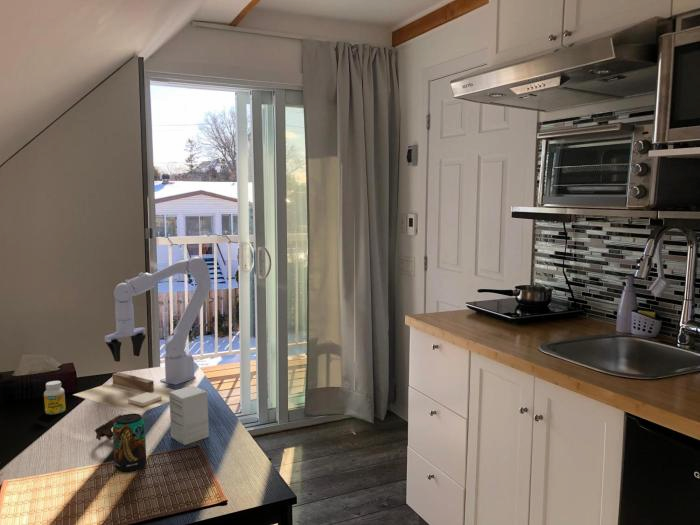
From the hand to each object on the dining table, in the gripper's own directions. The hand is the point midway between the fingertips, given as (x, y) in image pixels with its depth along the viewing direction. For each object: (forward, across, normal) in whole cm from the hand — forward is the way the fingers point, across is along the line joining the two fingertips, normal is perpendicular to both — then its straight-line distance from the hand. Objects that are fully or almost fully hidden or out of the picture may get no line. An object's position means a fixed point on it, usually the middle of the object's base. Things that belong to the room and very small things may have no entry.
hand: (127, 358), depth 193 cm
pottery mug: (+10, +30, +38) cm, 49 cm away
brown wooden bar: (+8, +2, +5) cm, 10 cm away
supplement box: (+10, +19, +51) cm, 55 cm away
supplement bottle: (+10, +28, +4) cm, 30 cm away
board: (+9, +7, +11) cm, 16 cm away
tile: (+8, +9, +20) cm, 23 cm away
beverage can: (+10, +38, +52) cm, 65 cm away
